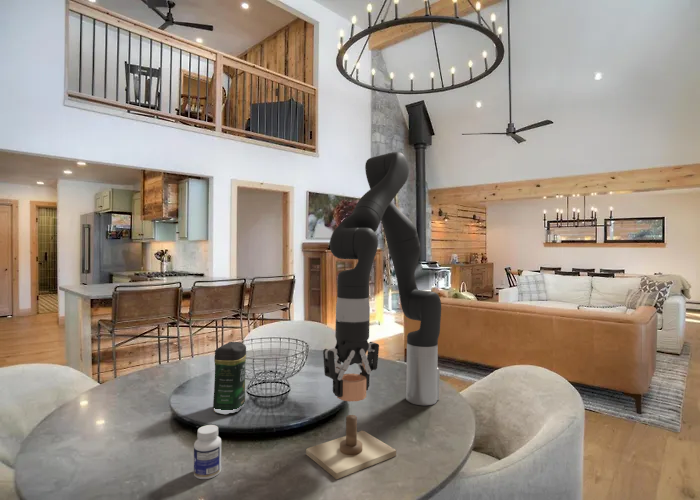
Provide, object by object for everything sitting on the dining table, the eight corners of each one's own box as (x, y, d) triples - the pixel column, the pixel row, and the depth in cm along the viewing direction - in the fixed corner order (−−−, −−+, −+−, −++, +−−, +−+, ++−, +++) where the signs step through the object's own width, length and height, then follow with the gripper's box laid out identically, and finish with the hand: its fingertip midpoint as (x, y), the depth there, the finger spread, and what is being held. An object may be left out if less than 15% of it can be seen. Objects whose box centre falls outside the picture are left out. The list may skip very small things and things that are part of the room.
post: (353, 442, 93) (353, 410, 93) (366, 450, 89) (367, 418, 89) (335, 448, 90) (335, 415, 90) (348, 457, 86) (349, 423, 86)
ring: (354, 389, 94) (354, 371, 94) (371, 397, 89) (371, 379, 89) (331, 394, 90) (331, 376, 90) (348, 403, 85) (348, 384, 85)
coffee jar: (237, 416, 109) (238, 348, 109) (209, 415, 109) (210, 347, 109) (249, 403, 118) (249, 340, 118) (222, 402, 119) (223, 339, 119)
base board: (362, 435, 99) (362, 430, 99) (396, 455, 89) (396, 450, 89) (305, 454, 89) (306, 448, 89) (336, 479, 80) (336, 473, 80)
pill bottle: (198, 466, 84) (198, 423, 84) (223, 465, 84) (224, 422, 84) (190, 480, 79) (190, 435, 79) (217, 479, 79) (218, 434, 79)
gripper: (367, 312, 97) (366, 382, 97) (316, 318, 88) (314, 394, 88) (388, 317, 91) (386, 391, 90) (335, 323, 82) (333, 405, 82)
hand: (351, 392), depth 89 cm, fingers closed on ring, 6 cm apart
